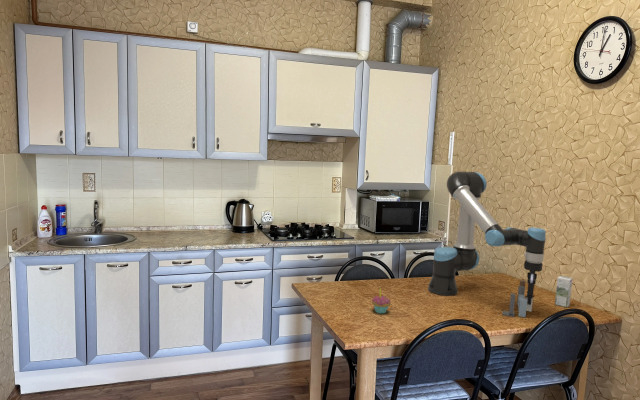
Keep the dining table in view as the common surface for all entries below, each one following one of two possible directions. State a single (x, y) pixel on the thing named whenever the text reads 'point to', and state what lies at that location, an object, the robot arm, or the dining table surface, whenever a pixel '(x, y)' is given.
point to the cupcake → (381, 303)
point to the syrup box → (563, 291)
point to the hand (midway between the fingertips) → (528, 310)
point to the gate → (521, 301)
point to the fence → (522, 283)
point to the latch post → (511, 310)
